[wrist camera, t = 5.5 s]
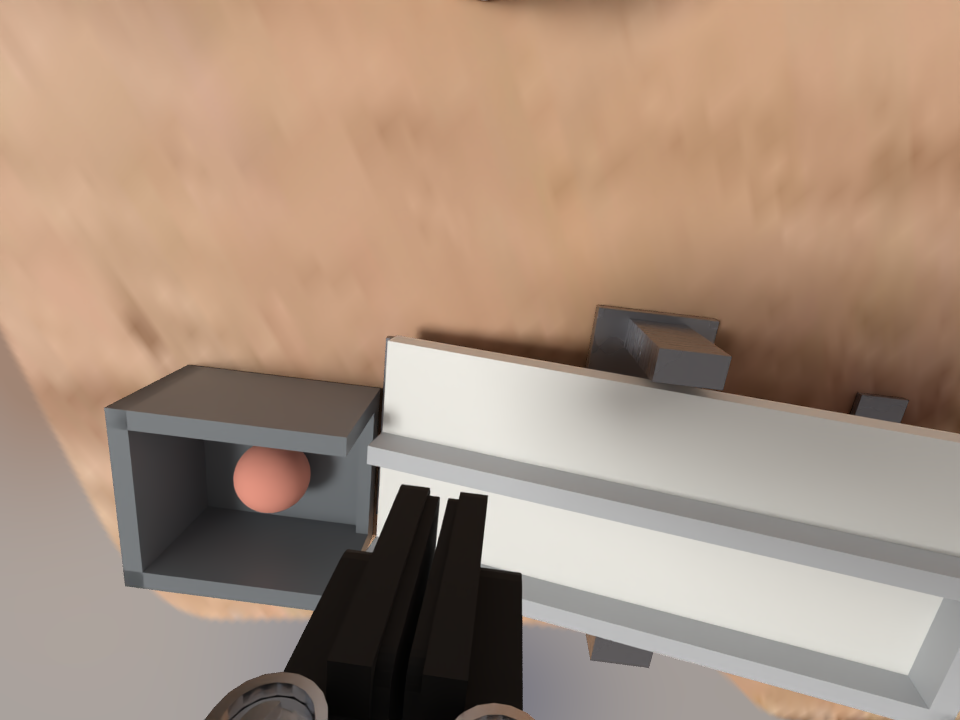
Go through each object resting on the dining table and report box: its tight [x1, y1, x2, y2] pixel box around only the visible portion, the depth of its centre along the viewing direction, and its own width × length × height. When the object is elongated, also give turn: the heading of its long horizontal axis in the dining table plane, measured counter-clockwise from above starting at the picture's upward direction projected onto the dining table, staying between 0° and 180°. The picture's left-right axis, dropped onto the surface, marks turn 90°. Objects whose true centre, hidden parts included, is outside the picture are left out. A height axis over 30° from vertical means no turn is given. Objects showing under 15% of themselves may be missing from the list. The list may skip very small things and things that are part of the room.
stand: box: [376, 305, 909, 668], centre depth 22 cm, size 23×14×5 cm, turn 84°
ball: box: [233, 446, 311, 513], centre depth 23 cm, size 3×3×3 cm
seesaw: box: [366, 335, 960, 720], centre depth 20 cm, size 22×10×2 cm, turn 84°
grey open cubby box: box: [104, 365, 380, 611], centre depth 23 cm, size 9×8×5 cm
